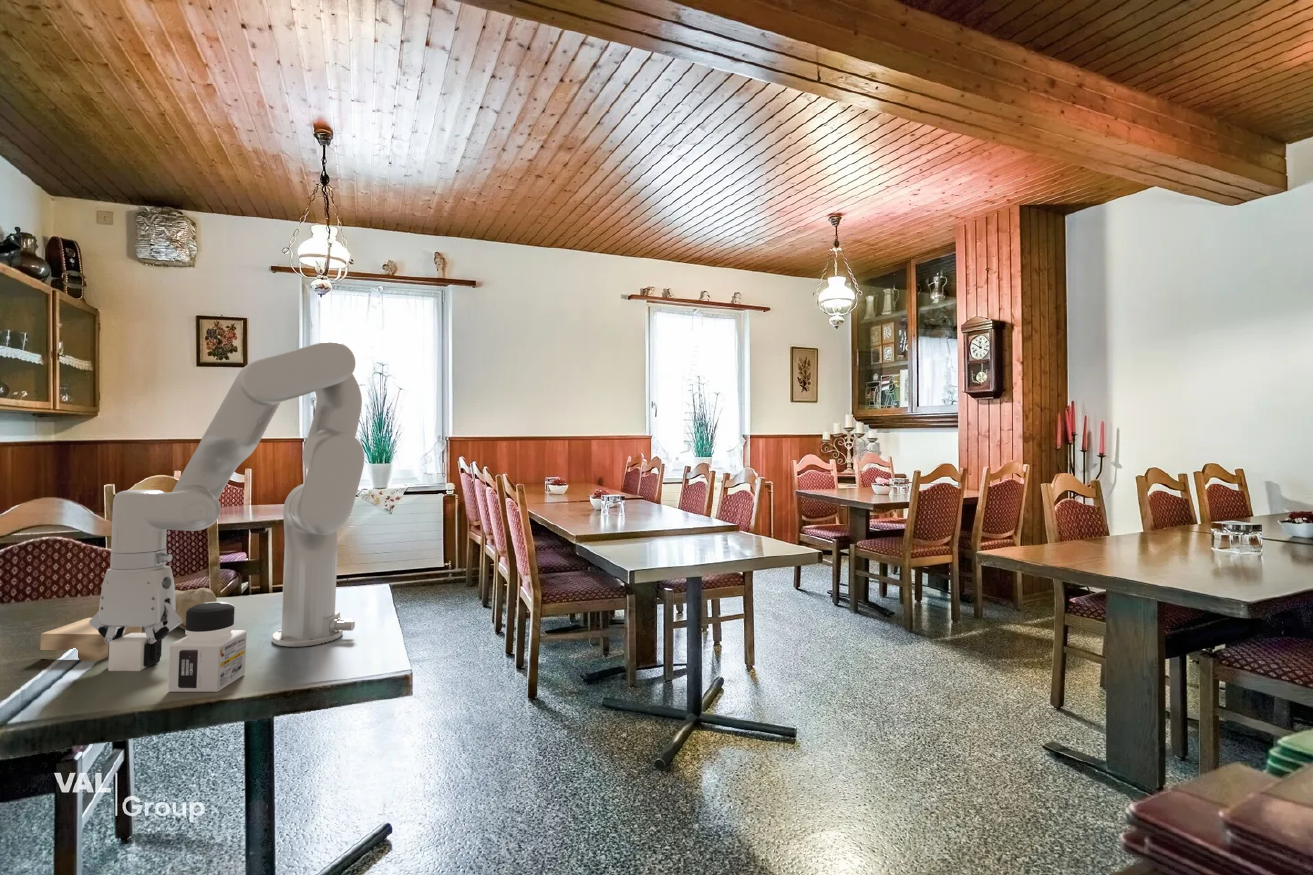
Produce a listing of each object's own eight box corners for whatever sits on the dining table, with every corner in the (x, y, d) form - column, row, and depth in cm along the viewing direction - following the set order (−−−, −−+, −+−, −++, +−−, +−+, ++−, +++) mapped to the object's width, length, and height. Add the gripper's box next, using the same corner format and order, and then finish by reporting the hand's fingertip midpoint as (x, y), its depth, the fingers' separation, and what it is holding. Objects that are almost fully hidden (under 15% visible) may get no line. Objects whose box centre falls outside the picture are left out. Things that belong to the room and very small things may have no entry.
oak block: (141, 644, 122) (142, 618, 122) (99, 662, 112) (100, 634, 112) (87, 643, 121) (88, 617, 121) (39, 661, 111) (40, 633, 111)
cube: (159, 660, 113) (160, 632, 113) (139, 670, 108) (140, 641, 108) (130, 660, 112) (131, 632, 113) (108, 670, 108) (109, 641, 108)
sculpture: (162, 624, 124) (202, 580, 130) (120, 609, 132) (159, 568, 138) (197, 645, 130) (233, 602, 136) (154, 629, 138) (190, 589, 144)
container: (218, 692, 100) (221, 611, 100) (166, 692, 99) (170, 610, 100) (245, 674, 108) (248, 598, 108) (198, 674, 107) (201, 598, 107)
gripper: (203, 557, 115) (199, 656, 115) (104, 555, 113) (100, 656, 113) (175, 565, 107) (171, 671, 107) (68, 563, 106) (64, 671, 106)
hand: (134, 662), depth 110 cm, fingers closed on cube, 5 cm apart
